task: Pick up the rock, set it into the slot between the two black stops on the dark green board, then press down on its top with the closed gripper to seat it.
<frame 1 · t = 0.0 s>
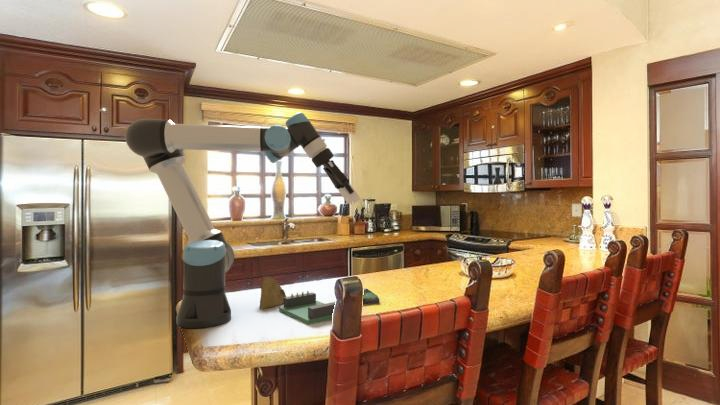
hand: (354, 201, 132), 36 cm above the countertop, tool tilted 35°, fingers open, 13 cm apart
rock: (273, 305, 127), on the countertop
disk drive: (360, 301, 135), on the countertop
socket board: (312, 313, 117), on the countertop
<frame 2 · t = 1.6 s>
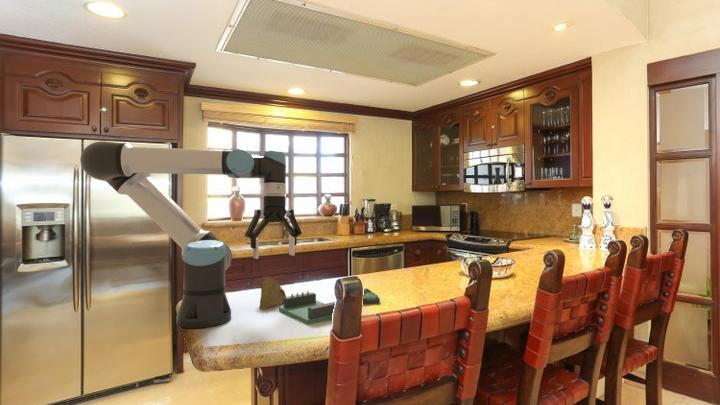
hand: (274, 256, 128), 17 cm above the countertop, tool pointing down, fingers open, 13 cm apart
nothing on the countertop moved.
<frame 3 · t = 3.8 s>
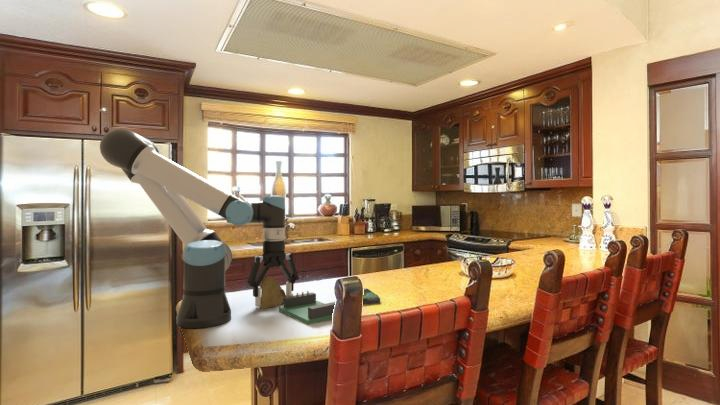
hand: (273, 303, 127), 1 cm above the countertop, tool pointing down, fingers closed on rock, 11 cm apart
rock: (274, 305, 127), on the countertop, touching gripper
everything else where it was.
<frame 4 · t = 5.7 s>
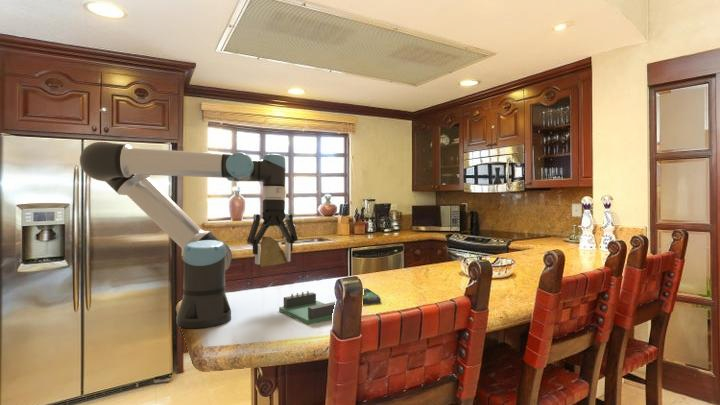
hand: (273, 262, 128), 15 cm above the countertop, tool pointing down, fingers closed on rock, 11 cm apart
rock: (273, 265, 128), point 14 cm above the countertop, touching gripper
everything else where it was.
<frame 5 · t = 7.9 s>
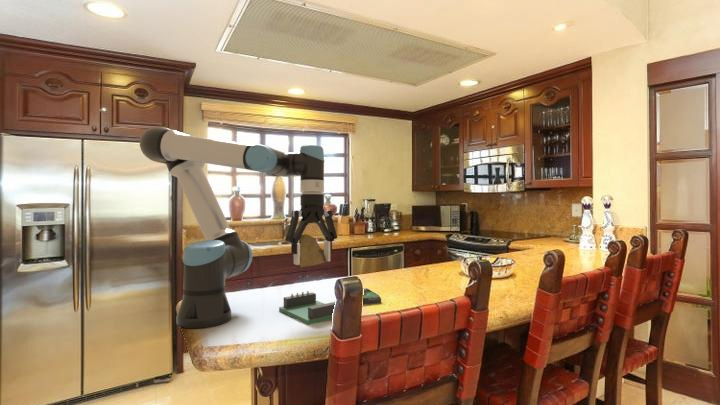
hand: (312, 262, 118), 16 cm above the countertop, tool pointing down, fingers closed on rock, 11 cm apart
rock: (312, 265, 118), point 15 cm above the countertop, touching gripper
everything else where it was.
when the fingers open (3 cm above the countertop, at t = 11.1 s): rock drops 1 cm, resting on socket board.
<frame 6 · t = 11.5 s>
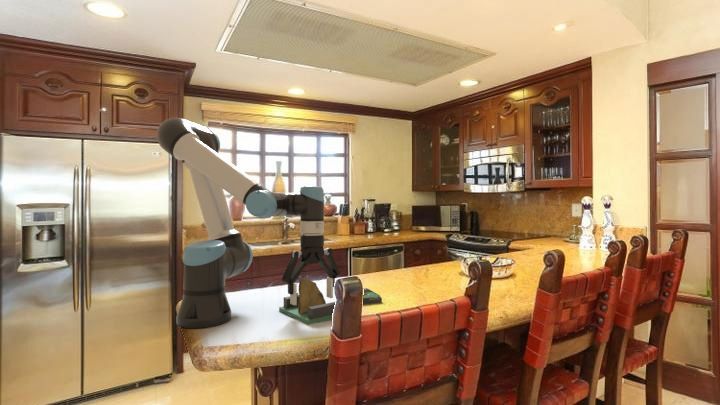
hand: (312, 300, 117), 4 cm above the countertop, tool pointing down, fingers open, 13 cm apart
rock: (312, 309, 118), point 1 cm above the countertop, touching socket board
everything else where it was.
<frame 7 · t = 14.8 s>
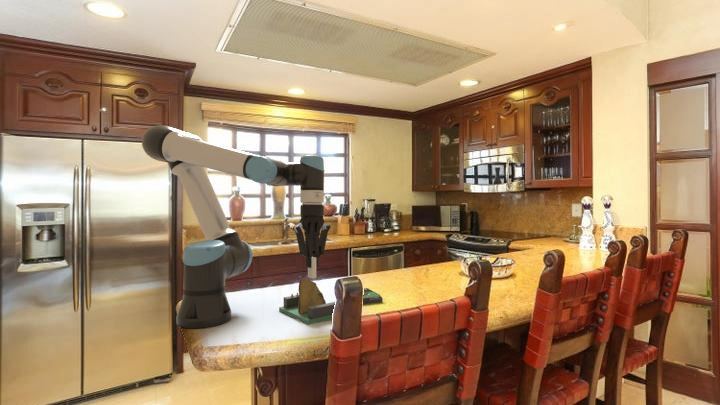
hand: (312, 277, 118), 11 cm above the countertop, tool pointing down, fingers closed
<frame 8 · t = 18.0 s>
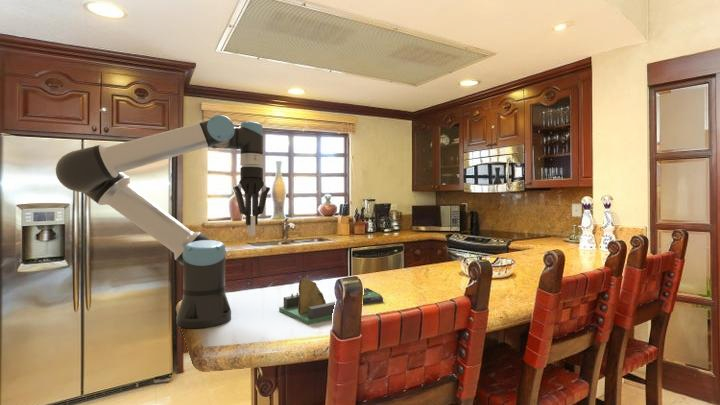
hand: (251, 234, 128), 24 cm above the countertop, tool pointing down, fingers closed
at the end: rock 0.1 cm off-centre on the socket board, point 1.0 cm above the socket board's base; rock tilted 1°; the gripper is holding nothing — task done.
